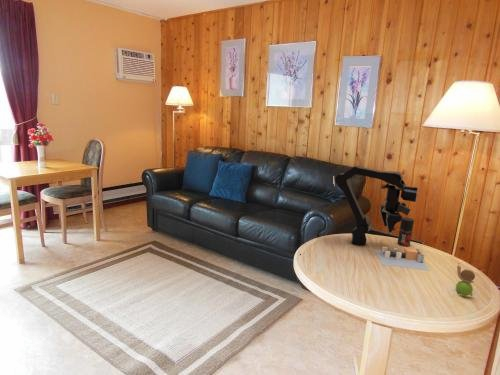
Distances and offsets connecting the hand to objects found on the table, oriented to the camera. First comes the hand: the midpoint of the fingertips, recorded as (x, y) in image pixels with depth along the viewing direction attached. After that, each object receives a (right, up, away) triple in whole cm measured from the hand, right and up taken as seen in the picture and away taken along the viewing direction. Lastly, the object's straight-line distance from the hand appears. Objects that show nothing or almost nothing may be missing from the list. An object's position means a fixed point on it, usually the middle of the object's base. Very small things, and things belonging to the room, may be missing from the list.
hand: (387, 229), depth 165 cm
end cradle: (+11, -13, -6) cm, 18 cm away
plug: (+4, -12, -5) cm, 14 cm away
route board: (+3, -14, -8) cm, 16 cm away
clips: (0, -12, -5) cm, 13 cm away
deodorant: (+13, -11, +12) cm, 20 cm away
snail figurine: (+15, -21, -34) cm, 43 cm away
